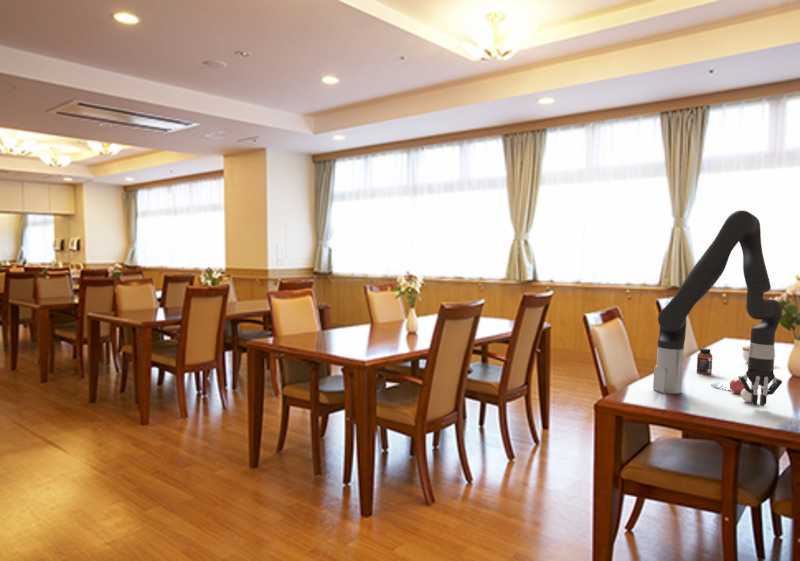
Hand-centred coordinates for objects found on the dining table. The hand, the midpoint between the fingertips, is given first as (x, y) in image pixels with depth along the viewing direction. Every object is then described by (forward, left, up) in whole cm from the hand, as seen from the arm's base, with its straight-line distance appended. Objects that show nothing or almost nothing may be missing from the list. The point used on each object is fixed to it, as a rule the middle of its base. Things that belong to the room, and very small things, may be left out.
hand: (758, 405), depth 195 cm
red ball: (+12, +20, +1) cm, 24 cm away
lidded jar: (+71, +68, -2) cm, 98 cm away
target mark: (+16, +28, -2) cm, 33 cm away
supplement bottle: (+26, +52, -2) cm, 58 cm away
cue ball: (+5, +8, +1) cm, 10 cm away
